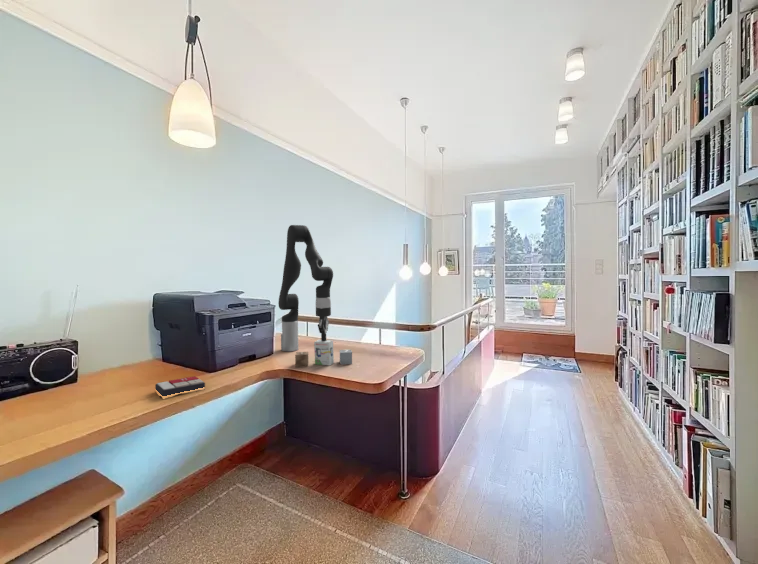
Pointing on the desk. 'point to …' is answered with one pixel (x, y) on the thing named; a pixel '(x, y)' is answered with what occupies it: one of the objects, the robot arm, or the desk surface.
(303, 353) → the numbered block one
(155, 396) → the desk surface
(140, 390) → the desk surface
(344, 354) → the numbered block seven
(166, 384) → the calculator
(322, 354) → the ink box
